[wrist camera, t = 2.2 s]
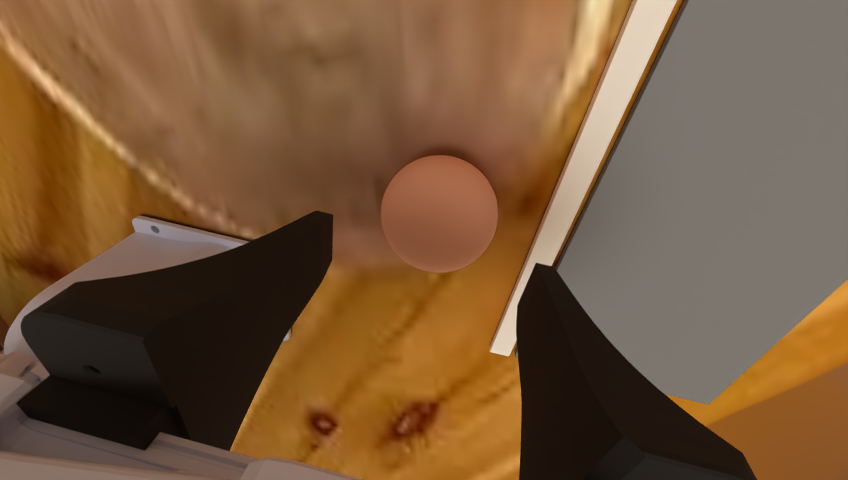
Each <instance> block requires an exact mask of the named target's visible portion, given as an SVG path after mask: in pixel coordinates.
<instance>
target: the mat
mask: <svg viewBox="0 0 848 480" xmlns="http://www.w3.org/2000/svg"><path fill="white" fill-rule="evenodd" d="M676 1H677V0H633V1H632V3H631V6H630V8H629V11H628V13H627V16H626V18H625V20H624V23H623V25H622V28H621V30H620V32H619V35H618V37H617V40H616V42H615V45H614V47H613V49H612V52H611V54H610V57H609V59H608V61H607V64H606V66H605V69H604V71H603V74H602V76H601V78H600V81H599V83H598V86H597V88H596V91H595V93H594V95H593V98H592V100H591V103H590V105H589V107H588V110H587V112H586V115H585V117H584V120H583V122H582V124H581V127H580V129H579V132H578V134H577V137H576V139H575V141H574V144H573V146H572V149H571V151H570V153H569V156H568V158H567V161H566V163H565V166H564V168H563V170H562V173H561V175H560V178H559V180H558V182H557V185H556V187H555V190H554V192H553V195H552V197H551V199H550V202H549V204H548V207H547V209H546V212H545V214H544V216H543V219H542V221H541V224H540V226H539V228H538V231H537V233H536V236H535V238H534V241H533V243H532V245H531V248H530V250H529V253H528V255H527V258H526V260H525V262H524V265H523V267H522V270H521V272H520V274H519V277H518V279H517V282H516V284H515V287H514V289H513V291H512V294H511V296H510V299H509V301H508V303H507V306H506V308H505V311H504V313H503V316H502V318H501V320H500V323H499V325H498V328H497V330H496V333H495V335H494V337H493V340H492V342H491V345H490V352H493V353H497V354H501V355H505V356H509V355H510V353H511V351H512V349H513V346H514V344H515V342H516V340H517V338H516V318H517V305H518V302H519V300H520V298H521V296H522V293H523V291H524V289H525V286H526V284H527V282H528V280H529V277H530V275H531V273H532V271H533V268H534V266H535V264H536V263H540V264H544V265H548V266H552V264H553V262H554V260H555V257H556V255H557V253H558V251H559V249H560V247H561V245H562V243H563V241H564V238H565V236H566V234H567V232H568V230H569V228H570V226H571V224H572V221H573V219H574V217H575V215H576V213H577V211H578V209H579V207H580V204H581V202H582V200H583V198H584V196H585V194H586V192H587V190H588V188H589V185H590V183H591V181H592V179H593V177H594V175H595V173H596V171H597V168H598V166H599V164H600V162H601V160H602V158H603V156H604V154H605V151H606V149H607V147H608V145H609V143H610V141H611V139H612V137H613V135H614V132H615V130H616V128H617V126H618V124H619V122H620V120H621V118H622V115H623V113H624V111H625V109H626V107H627V105H628V103H629V101H630V98H631V96H632V94H633V92H634V90H635V88H636V86H637V84H638V82H639V79H640V77H641V75H642V73H643V71H644V69H645V67H646V65H647V62H648V60H649V58H650V56H651V54H652V52H653V50H654V48H655V46H656V43H657V41H658V39H659V37H660V35H661V33H662V31H663V29H664V26H665V24H666V22H667V20H668V18H669V16H670V14H671V12H672V9H673V7H674V5H675V3H676ZM555 269H556V270H557V272H558V273H559V275H560V276H561V278H562V279H563V281H564V282H565V283H566V285H567V286H568V288H569V289H570V291H571V292H572V294H573V295H574V296H575V298H576V299H577V301H578V302H579V303H580V305H581V306H582V308H583V309H584V310H585V312H586V313H587V314H588V316H589V317H590V318H591V319H592V321H593V322H594V323H595V324H596V326H597V327H598V328H599V329H600V330H601V332H602V333H603V334H604V335H605V336H606V338H607V339H608V340H609V341H610V342H611V343H612V344H613V345H614V347H615V348H616V349H617V350H618V351H619V352H620V353H621V354H622V355H623V356H624V357H625V358H626V359H627V360H628V361H629V362H630V363H631V364H632V365H633V366H634V367H635V368H636V369H637V370H638V371H639V372H640V373H641V374H642V375H643V376H645V377H646V378H647V379H648V380H649V381H650V382H651V383H652V384H653V385H654V386H656V387H657V388H658V389H659V390H660V391H661V392H662V393H664V394H667V395H671V396H675V397H679V398H683V399H688V400H692V401H696V402H700V403H704V404H710V403H711V402H712V401H713V400H714V399H715V398H716V397H717V396H718V395H720V394H721V393H722V392H723V391H724V390H725V389H726V388H727V387H728V386H730V385H731V384H732V383H733V382H734V381H735V380H736V379H737V378H738V377H740V376H741V375H742V374H743V373H744V372H745V371H746V370H747V369H748V368H750V367H751V366H752V365H753V364H754V363H755V362H756V361H757V360H758V359H760V358H761V357H762V356H763V355H764V354H765V353H766V352H767V351H768V350H770V349H771V348H772V347H773V346H774V345H775V344H776V343H777V342H778V341H780V340H781V339H782V338H783V337H784V336H785V335H786V334H787V333H788V332H790V331H791V330H792V329H793V328H794V327H795V326H796V325H797V324H798V323H800V322H801V321H802V320H803V319H804V318H805V317H806V316H807V315H808V314H810V313H811V312H812V311H813V310H814V309H815V308H816V307H817V306H818V305H820V304H821V303H822V302H823V301H824V300H825V299H826V298H827V297H828V296H830V295H831V294H832V293H833V292H834V291H835V290H836V289H837V288H838V287H840V286H841V285H842V284H843V283H844V282H845V281H846V280H847V279H848V0H684V1H683V3H682V5H681V7H680V9H679V11H678V13H677V15H676V18H675V20H674V22H673V24H672V26H671V28H670V30H669V32H668V34H667V36H666V38H665V40H664V42H663V45H662V47H661V49H660V51H659V53H658V55H657V57H656V59H655V61H654V63H653V65H652V67H651V69H650V72H649V74H648V76H647V78H646V80H645V82H644V84H643V86H642V88H641V90H640V92H639V94H638V97H637V99H636V101H635V103H634V105H633V107H632V109H631V111H630V113H629V115H628V117H627V119H626V121H625V124H624V126H623V128H622V130H621V132H620V134H619V136H618V138H617V140H616V142H615V144H614V146H613V148H612V151H611V153H610V155H609V157H608V159H607V161H606V163H605V165H604V167H603V169H602V171H601V173H600V176H599V178H598V180H597V182H596V184H595V186H594V188H593V190H592V192H591V194H590V196H589V198H588V200H587V203H586V205H585V207H584V209H583V211H582V213H581V215H580V217H579V219H578V221H577V223H576V225H575V227H574V230H573V232H572V234H571V236H570V238H569V240H568V242H567V244H566V246H565V248H564V250H563V252H562V254H561V257H560V259H559V261H558V263H557V265H556V267H555ZM515 357H518V350H517V348H516V350H515Z"/></svg>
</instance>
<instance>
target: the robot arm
mask: <svg viewBox="0 0 848 480" xmlns="http://www.w3.org/2000/svg"><path fill="white" fill-rule="evenodd" d="M132 224H133V227H134V229H135V232H134V233H133V234H131V235H130V236H128V237H126V238H125V239H123V240H122V241H120V242H119V243H117V244H115V245H114V246H112V247H111V248H109V249H107V250H106V251H104V252H103V253H101V254H100V255H98V256H96V257H95V258H93V259H92V260H90V261H88V262H87V263H85V264H84V265H82V266H81V267H79V268H77V269H76V270H74V271H73V272H71V273H69V274H68V275H66V276H65V277H63V278H62V279H60V280H58V281H57V282H55V283H54V284H52V285H50V286H49V287H47V288H46V289H44V290H43V291H42V292H40V293H39V294H38V295H36V296H35V297H34V298H33V299H32V300H31V301H30V302H29V303H28V304H27V305H26V306H25V307H24V308H23V309H22V311H21V312H20V313H19V314H18V316H17V317H16V318H15V320H14V322H13V323H12V325H11V326H10V328H9V330H8V333H7V335H6V338H5V342H4V354H0V480H363V479H360V478H356V477H352V476H349V475H345V474H342V473H338V472H334V471H331V470H327V469H323V468H320V467H316V466H313V465H309V464H305V463H302V462H298V461H294V460H289V459H282V458H276V457H268V458H263V459H256V458H252V457H248V456H245V455H241V454H238V453H234V452H230V448H231V446H232V444H233V442H234V439H235V437H236V435H237V433H238V430H239V428H240V426H241V424H242V421H243V419H244V417H245V415H246V413H247V411H248V409H249V406H250V404H251V402H252V400H253V398H254V396H255V394H256V392H257V390H258V388H259V386H260V384H261V382H262V380H263V378H264V376H265V374H266V372H267V370H268V368H269V366H270V364H271V362H272V360H273V358H274V356H275V354H276V352H277V351H278V349H279V347H280V345H281V343H282V341H286V340H288V339H289V337H290V336H291V327H292V325H293V324H294V322H295V321H296V320H297V318H298V317H299V315H300V314H301V312H302V311H303V309H304V308H305V306H306V305H307V303H308V302H309V300H310V299H311V297H312V296H313V294H314V293H315V291H316V290H317V288H318V287H319V285H320V284H321V282H322V280H323V278H324V276H325V274H326V272H327V270H328V268H329V266H330V263H331V261H332V238H333V215H332V214H328V213H324V212H320V211H315V212H312V213H310V214H308V215H306V216H304V217H302V218H300V219H298V220H296V221H294V222H292V223H290V224H288V225H286V226H284V227H282V228H279V229H277V230H275V231H273V232H271V233H269V234H267V235H264V236H262V237H260V238H258V239H255V240H253V241H251V242H249V241H245V240H240V239H236V238H232V237H228V236H224V235H220V234H215V233H211V232H207V231H203V230H199V229H195V228H191V227H186V226H182V225H178V224H174V223H170V222H166V221H161V220H157V219H153V218H149V217H145V216H137V217H136V218H134V219H133V220H132ZM516 338H517V350H518V361H519V372H520V382H521V397H522V422H521V455H520V475H519V480H757V479H756V477H755V475H754V473H753V471H752V469H751V468H750V466H749V464H748V462H747V460H746V458H745V457H744V455H743V453H742V452H740V451H739V450H737V449H736V448H735V447H733V446H732V445H731V444H729V443H728V442H726V441H725V440H724V439H722V438H721V437H719V436H718V435H717V434H715V433H714V432H712V431H711V430H709V429H708V428H707V427H705V426H704V425H703V424H701V423H700V422H698V421H697V420H696V419H695V418H693V417H692V416H691V415H689V414H688V413H687V412H686V411H684V410H683V409H682V408H681V407H679V406H678V405H677V404H676V403H674V402H673V401H672V400H671V399H670V398H668V397H667V396H666V395H665V394H664V393H662V392H661V391H660V390H659V389H658V388H657V387H656V386H654V385H653V384H652V383H651V382H650V381H649V380H648V379H647V378H646V377H645V376H643V375H642V374H641V373H640V372H639V371H638V370H637V369H636V368H635V367H634V366H633V365H632V364H631V363H630V362H629V361H628V360H627V359H626V358H625V357H624V356H623V355H622V354H621V353H620V352H619V351H618V350H617V349H616V348H615V347H614V345H613V344H612V343H611V342H610V341H609V340H608V339H607V338H606V336H605V335H604V334H603V333H602V332H601V330H600V329H599V328H598V327H597V326H596V324H595V323H594V322H593V321H592V319H591V318H590V317H589V316H588V314H587V313H586V312H585V310H584V309H583V308H582V306H581V305H580V303H579V302H578V301H577V299H576V298H575V296H574V295H573V294H572V292H571V291H570V289H569V288H568V286H567V285H566V283H565V282H564V281H563V279H562V278H561V276H560V275H559V273H558V272H557V270H556V269H555V268H554V267H552V266H548V265H544V264H540V263H536V264H535V266H534V268H533V271H532V273H531V275H530V277H529V280H528V282H527V284H526V286H525V289H524V291H523V293H522V296H521V298H520V300H519V302H518V305H517V318H516Z"/></svg>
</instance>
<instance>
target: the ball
mask: <svg viewBox="0 0 848 480" xmlns="http://www.w3.org/2000/svg"><path fill="white" fill-rule="evenodd" d="M497 222H498V205H497V200H496V196H495V193H494V191H493V189H492V187H491V185H490V183H489V181H488V180H487V179H486V177H485V176H484V175H483V174H482V173H481V172H480V171H479V170H478V169H477V168H475V167H474V166H473V165H471V164H470V163H468V162H466V161H464V160H462V159H459V158H456V157H453V156H446V155H434V156H427V157H423V158H420V159H417V160H415V161H413V162H411V163H409V164H408V165H406V166H405V167H404V168H402V169H401V170H400V171H399V172H398V173H397V174H396V175H395V176H394V178H393V179H392V180H391V182H390V183H389V185H388V187H387V189H386V191H385V193H384V196H383V200H382V205H381V223H382V228H383V232H384V235H385V237H386V239H387V241H388V243H389V245H390V247H391V248H392V249H393V251H394V252H395V253H396V254H397V255H398V256H399V257H400V258H401V259H402V260H403V261H405V262H406V263H408V264H409V265H411V266H413V267H415V268H418V269H420V270H423V271H427V272H434V273H445V272H451V271H455V270H458V269H461V268H464V267H466V266H467V265H469V264H471V263H472V262H474V261H475V260H476V259H478V258H479V257H480V256H481V255H482V254H483V253H484V251H485V250H486V249H487V248H488V246H489V244H490V243H491V241H492V239H493V236H494V234H495V231H496V227H497Z"/></svg>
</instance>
